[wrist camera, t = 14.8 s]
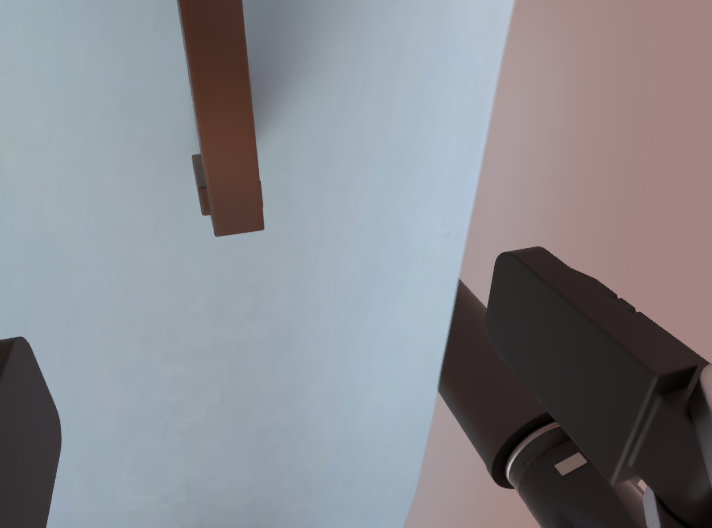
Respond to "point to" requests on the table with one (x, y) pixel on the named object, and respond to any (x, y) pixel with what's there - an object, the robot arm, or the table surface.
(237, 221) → the door handle
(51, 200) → the table surface
